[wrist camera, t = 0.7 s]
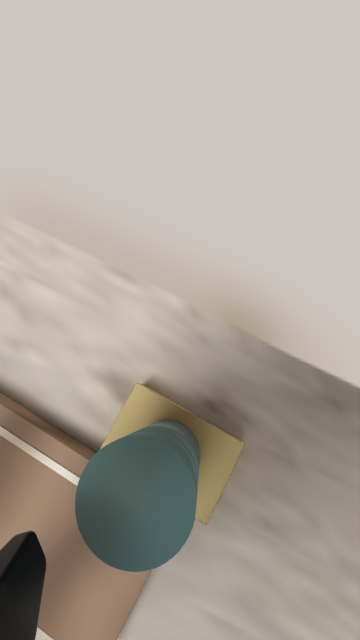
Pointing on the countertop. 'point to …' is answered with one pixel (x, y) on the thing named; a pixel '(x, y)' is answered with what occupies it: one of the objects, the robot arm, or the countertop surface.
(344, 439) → the countertop surface
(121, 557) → the teal column with base
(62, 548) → the board
